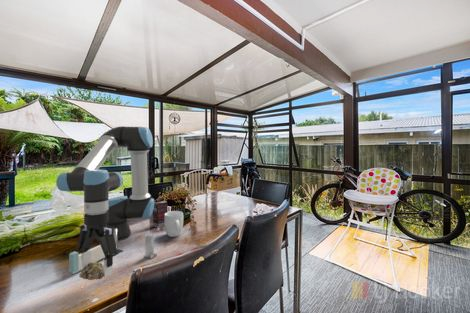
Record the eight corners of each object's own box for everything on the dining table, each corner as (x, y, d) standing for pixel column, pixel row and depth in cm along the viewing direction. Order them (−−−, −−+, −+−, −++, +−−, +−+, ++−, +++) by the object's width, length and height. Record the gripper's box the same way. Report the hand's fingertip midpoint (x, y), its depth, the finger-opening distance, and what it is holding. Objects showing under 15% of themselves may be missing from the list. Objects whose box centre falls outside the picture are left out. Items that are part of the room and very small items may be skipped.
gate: (108, 252, 101) (108, 236, 100) (112, 253, 100) (111, 237, 100) (69, 272, 84) (69, 253, 84) (73, 274, 83) (73, 254, 83)
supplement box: (163, 222, 146) (163, 200, 145) (167, 224, 143) (167, 201, 143) (152, 226, 139) (152, 203, 138) (157, 228, 136) (157, 204, 135)
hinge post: (106, 254, 101) (106, 230, 101) (115, 249, 106) (115, 226, 105) (114, 256, 99) (113, 231, 99) (122, 251, 104) (122, 228, 104)
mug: (188, 238, 121) (188, 216, 120) (169, 242, 115) (169, 219, 114) (179, 229, 133) (179, 209, 133) (162, 233, 127) (162, 212, 127)
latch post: (144, 257, 99) (144, 236, 98) (149, 253, 102) (149, 233, 102) (151, 259, 97) (151, 238, 97) (156, 255, 101) (156, 235, 100)
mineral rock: (73, 268, 74) (97, 254, 80) (77, 278, 75) (100, 263, 82) (85, 280, 68) (110, 264, 74) (89, 291, 69) (113, 273, 75)
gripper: (64, 211, 76) (64, 271, 76) (110, 218, 68) (110, 284, 69) (85, 206, 83) (85, 261, 83) (129, 212, 75) (129, 272, 76)
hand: (96, 271), depth 76 cm, fingers closed on mineral rock, 10 cm apart
